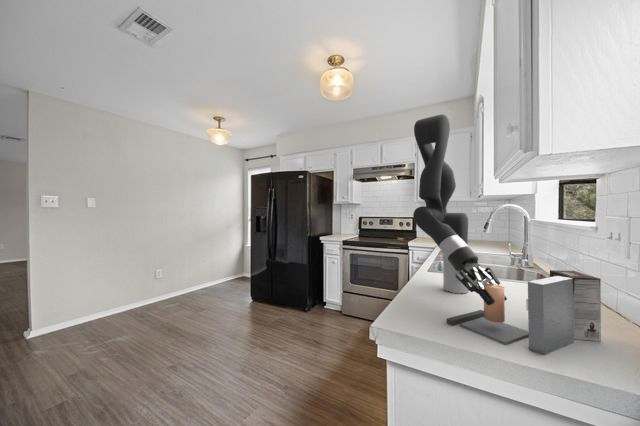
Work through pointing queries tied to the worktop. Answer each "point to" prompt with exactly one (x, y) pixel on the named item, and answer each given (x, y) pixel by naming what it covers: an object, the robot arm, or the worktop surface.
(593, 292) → the coffee box
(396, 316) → the worktop surface
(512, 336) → the charcoal mat
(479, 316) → the dark grey slender bar
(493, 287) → the peach domed cylinder
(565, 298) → the breaker panel
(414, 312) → the worktop surface
